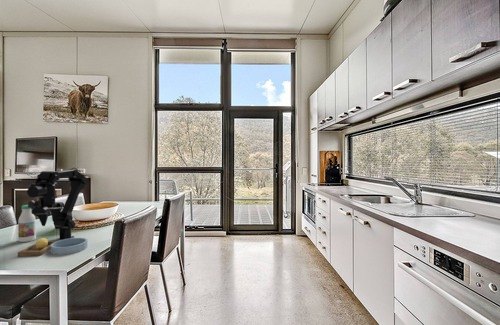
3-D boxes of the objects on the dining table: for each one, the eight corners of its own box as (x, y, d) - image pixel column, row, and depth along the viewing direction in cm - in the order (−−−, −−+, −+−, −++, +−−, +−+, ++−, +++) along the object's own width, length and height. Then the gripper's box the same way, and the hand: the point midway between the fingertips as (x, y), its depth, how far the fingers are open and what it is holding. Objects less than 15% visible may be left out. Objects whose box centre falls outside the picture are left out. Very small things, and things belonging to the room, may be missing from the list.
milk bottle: (22, 239, 155) (21, 204, 154) (38, 237, 158) (37, 203, 157) (15, 243, 148) (15, 207, 147) (32, 241, 150) (32, 206, 150)
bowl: (61, 245, 144) (61, 238, 144) (92, 244, 146) (92, 237, 146) (43, 256, 129) (43, 248, 129) (78, 254, 131) (78, 246, 131)
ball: (37, 250, 137) (40, 240, 140) (47, 249, 138) (51, 240, 141) (31, 246, 133) (35, 236, 136) (42, 246, 134) (46, 236, 137)
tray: (39, 246, 143) (38, 241, 143) (59, 245, 144) (59, 241, 144) (17, 257, 127) (17, 252, 127) (40, 256, 128) (40, 251, 128)
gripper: (43, 192, 151) (43, 220, 151) (19, 197, 132) (19, 229, 133) (64, 192, 152) (64, 219, 153) (44, 197, 134) (44, 228, 134)
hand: (49, 223), depth 143 cm, fingers open, 9 cm apart
